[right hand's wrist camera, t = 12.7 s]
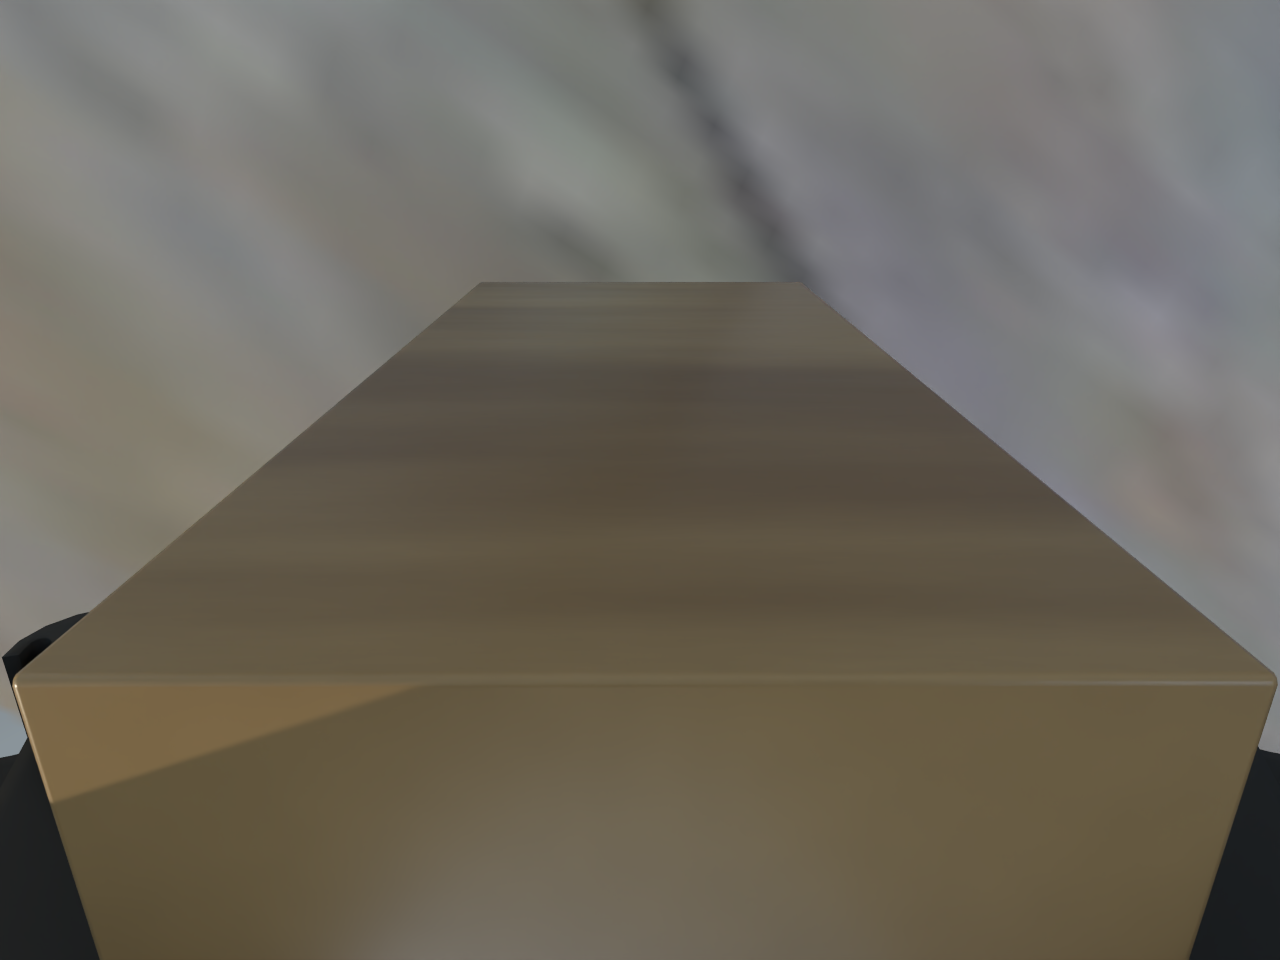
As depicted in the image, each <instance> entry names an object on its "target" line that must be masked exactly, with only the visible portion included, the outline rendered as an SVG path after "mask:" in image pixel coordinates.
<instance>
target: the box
mask: <svg viewBox="0 0 1280 960" xmlns="http://www.w3.org/2000/svg"><path fill="white" fill-rule="evenodd" d="M1277 685H1278V684H1277V678H1276V676H1275V674H1274V673H1273V672H1272V671H1271V670H1270V669H1269V668H1267V667H1266V666H1265V665H1264V664H1262V663H1261V662H1260V661H1259V660H1258V659H1256V658H1255V657H1254V656H1253V655H1252V654H1250V653H1249V652H1248V651H1247V650H1245V649H1244V648H1243V647H1242V646H1241V645H1239V644H1238V643H1237V642H1236V641H1235V640H1233V639H1232V638H1231V637H1230V636H1229V635H1227V634H1226V633H1225V632H1224V631H1222V630H1221V629H1220V628H1219V627H1218V626H1216V625H1215V624H1214V623H1213V622H1212V621H1210V620H1209V619H1208V618H1207V617H1206V616H1204V615H1203V614H1202V613H1201V612H1199V611H1198V610H1197V609H1196V608H1195V607H1193V606H1192V605H1191V604H1190V603H1189V602H1187V601H1186V600H1185V599H1184V598H1183V597H1181V596H1180V595H1179V594H1178V593H1176V592H1175V591H1174V590H1173V589H1172V588H1170V587H1169V586H1168V585H1167V584H1166V583H1164V582H1163V581H1162V580H1161V579H1160V578H1158V577H1157V576H1156V575H1155V574H1153V573H1152V572H1151V571H1150V570H1149V569H1147V568H1146V567H1145V566H1144V565H1143V564H1141V563H1140V562H1139V561H1138V560H1137V559H1135V558H1134V557H1133V556H1132V555H1130V554H1129V553H1128V552H1127V551H1126V550H1124V549H1123V548H1122V547H1121V546H1120V545H1118V544H1117V543H1116V542H1115V541H1114V540H1112V539H1111V538H1110V537H1109V536H1107V535H1106V534H1105V533H1104V532H1103V531H1101V530H1100V529H1099V528H1098V527H1097V526H1095V525H1094V524H1093V523H1092V522H1091V521H1089V520H1088V519H1087V518H1086V517H1084V516H1083V515H1082V514H1081V513H1080V512H1078V511H1077V510H1076V509H1075V508H1074V507H1072V506H1071V505H1070V504H1069V503H1068V502H1066V501H1065V500H1064V499H1063V498H1061V497H1060V496H1059V495H1058V494H1057V493H1055V492H1054V491H1053V490H1052V489H1051V488H1049V487H1048V486H1047V485H1046V484H1045V483H1043V482H1042V481H1041V480H1040V479H1038V478H1037V477H1036V476H1035V475H1034V474H1032V473H1031V472H1030V471H1029V470H1028V469H1026V468H1025V467H1024V466H1023V465H1021V464H1020V463H1019V462H1018V461H1017V460H1015V459H1014V458H1013V457H1012V456H1011V455H1009V454H1008V453H1007V452H1006V451H1005V450H1003V449H1002V448H1001V447H1000V446H998V445H997V444H996V443H995V442H994V441H992V440H991V439H990V438H989V437H988V436H986V435H985V434H984V433H983V432H982V431H980V430H979V429H978V428H977V427H975V426H974V425H973V424H972V423H971V422H969V421H968V420H967V419H966V418H965V417H963V416H962V415H961V414H960V413H959V412H957V411H956V410H955V409H954V408H952V407H951V406H950V405H949V404H948V403H946V402H945V401H944V400H943V399H942V398H940V397H939V396H938V395H937V394H936V393H934V392H933V391H932V390H931V389H929V388H928V387H927V386H926V385H925V384H923V383H922V382H921V381H920V380H919V379H917V378H916V377H915V376H914V375H913V374H911V373H910V372H909V371H908V370H906V369H905V368H904V367H903V366H902V365H900V364H899V363H898V362H897V361H896V360H894V359H893V358H892V357H891V356H890V355H888V354H887V353H886V352H885V351H883V350H882V349H881V348H880V347H879V346H877V345H876V344H875V343H874V342H873V341H871V340H870V339H869V338H868V337H867V336H865V335H864V334H863V333H862V332H860V331H859V330H858V329H857V328H856V327H854V326H853V325H852V324H851V323H850V322H848V321H847V320H846V319H845V318H844V317H842V316H841V315H840V314H839V313H837V312H836V311H835V310H834V309H833V308H831V307H830V306H829V305H828V304H827V303H825V302H824V301H823V300H822V299H821V298H819V297H818V296H817V295H816V294H814V293H813V292H812V291H811V290H810V289H808V288H807V287H806V286H805V285H804V284H802V283H800V282H482V283H479V284H478V285H477V286H476V287H475V288H473V289H472V290H471V291H470V292H469V293H468V294H466V295H465V296H464V297H463V298H462V299H460V300H459V301H458V302H457V303H456V304H454V305H453V306H452V307H451V308H450V309H449V310H447V311H446V312H445V313H444V314H443V315H441V316H440V317H439V318H438V319H437V320H436V321H434V322H433V323H432V324H431V325H430V326H428V327H427V328H426V329H425V330H424V331H422V332H421V333H420V334H419V335H418V336H417V337H415V338H414V339H413V340H412V341H411V342H409V343H408V344H407V345H406V346H405V347H403V348H402V349H401V350H400V351H399V352H398V353H396V354H395V355H394V356H393V357H392V358H390V359H389V360H388V361H387V362H386V363H385V364H383V365H382V366H381V367H380V368H379V369H377V370H376V371H375V372H374V373H373V374H371V375H370V376H369V377H368V378H367V379H366V380H364V381H363V382H362V383H361V384H360V385H358V386H357V387H356V388H355V389H354V390H352V391H351V392H350V393H349V394H348V395H347V396H345V397H344V398H343V399H342V400H341V401H339V402H338V403H337V404H336V405H335V406H334V407H332V408H331V409H330V410H329V411H328V412H326V413H325V414H324V415H323V416H322V417H320V418H319V419H318V420H317V421H316V422H315V423H313V424H312V425H311V426H310V427H309V428H307V429H306V430H305V431H304V432H303V433H301V434H300V435H299V436H298V437H297V438H296V439H294V440H293V441H292V442H291V443H290V444H288V445H287V446H286V447H285V448H284V449H283V450H281V451H280V452H279V453H278V454H277V455H275V456H274V457H273V458H272V459H271V460H269V461H268V462H267V463H266V464H265V465H264V466H262V467H261V468H260V469H259V470H258V471H256V472H255V473H254V474H253V475H252V476H250V477H249V478H248V479H247V480H246V481H245V482H243V483H242V484H241V485H240V486H239V487H237V488H236V489H235V490H234V491H233V492H231V493H230V494H229V495H228V496H227V497H226V498H224V499H223V500H222V501H221V502H220V503H218V504H217V505H216V506H215V507H214V508H213V509H211V510H210V511H209V512H208V513H207V514H205V515H204V516H203V517H202V518H201V519H199V520H198V521H197V522H196V523H195V524H194V525H192V526H191V527H190V528H189V529H188V530H186V531H185V532H184V533H183V534H182V535H180V536H179V537H178V538H177V539H176V540H175V541H173V542H172V543H171V544H170V545H169V546H167V547H166V548H165V549H164V550H163V551H162V552H160V553H159V554H158V555H157V556H156V557H154V558H153V559H152V560H151V561H150V562H148V563H147V564H146V565H145V566H144V567H143V568H141V569H140V570H139V571H138V572H137V573H135V574H134V575H133V576H132V577H131V578H129V579H128V580H127V581H126V582H125V583H124V584H122V585H121V586H120V587H119V588H118V589H116V590H115V591H114V592H113V593H112V594H111V595H109V596H108V597H107V598H106V599H105V600H103V601H102V602H101V603H100V604H99V605H97V606H96V607H95V608H94V609H93V610H92V611H90V612H89V613H88V614H87V615H86V616H84V617H83V618H82V619H81V620H80V621H78V622H77V623H76V624H75V625H74V626H73V627H71V628H70V629H69V630H68V631H67V632H65V633H64V634H63V635H62V636H61V637H60V638H58V639H57V640H56V641H55V642H54V643H52V644H51V645H50V646H49V647H48V648H46V649H45V650H44V651H43V652H42V653H41V654H39V655H38V656H37V657H36V658H35V659H33V660H32V661H31V662H30V663H29V664H27V665H26V666H25V667H24V668H23V669H22V670H20V671H19V672H18V673H17V674H16V675H15V677H14V679H13V685H12V687H13V690H14V693H15V696H16V699H17V702H18V706H19V709H20V712H21V715H22V718H23V721H24V724H25V727H26V731H27V734H28V737H29V740H30V743H31V746H32V749H33V752H34V756H35V759H36V762H37V765H38V768H39V771H40V774H41V777H42V781H43V784H44V787H45V790H46V793H47V796H48V799H49V802H50V806H51V809H52V812H53V815H54V818H55V821H56V824H57V827H58V831H59V834H60V837H61V840H62V843H63V846H64V849H65V852H66V855H67V859H68V862H69V865H70V868H71V871H72V874H73V877H74V880H75V884H76V887H77V890H78V893H79V896H80V899H81V902H82V905H83V909H84V912H85V915H86V918H87V921H88V924H89V927H90V930H91V934H92V937H93V940H94V943H95V946H96V949H97V952H98V955H99V959H100V960H1189V957H1190V954H1191V951H1192V948H1193V945H1194V942H1195V939H1196V936H1197V932H1198V929H1199V926H1200V923H1201V920H1202V917H1203V914H1204V911H1205V908H1206V905H1207V902H1208V898H1209V895H1210V892H1211V889H1212V886H1213V883H1214V880H1215V877H1216V874H1217V871H1218V868H1219V864H1220V861H1221V858H1222V855H1223V852H1224V849H1225V846H1226V843H1227V840H1228V837H1229V834H1230V830H1231V827H1232V824H1233V821H1234V818H1235V815H1236V812H1237V809H1238V806H1239V803H1240V800H1241V796H1242V793H1243V790H1244V787H1245V784H1246V781H1247V778H1248V775H1249V772H1250V769H1251V766H1252V762H1253V759H1254V756H1255V753H1256V750H1257V747H1258V744H1259V741H1260V738H1261V735H1262V732H1263V728H1264V725H1265V722H1266V719H1267V716H1268V713H1269V710H1270V707H1271V704H1272V701H1273V698H1274V694H1275V691H1276V688H1277Z"/></svg>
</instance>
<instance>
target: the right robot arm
mask: <svg viewBox="0 0 1280 960" xmlns="http://www.w3.org/2000/svg"><path fill="white" fill-rule="evenodd" d="M88 613H89V612H87V613H83V614H78V615H75V616H72V617H70V618H67V619H64V620H61V621H58V622H56V623H53V624H50V625H47V626H45V627H43V628H41V629H40V630H38V631H36V632H34V633H33V634H31V635H29V636H27V637H25V638H24V639H22V640H20V641H19V642H18V643H17V644H15V645H14V646H13V647H12V648H11V649H10V650H9V651H8V652H7V653H6V654H5V655H4V656H3V657H2V659H3V662H4V665H5V668H6V671H7V674H8V678H9V681H10V684H11V687H12V685H13V679H14V677H15V675H16V674H17V673H18V672H19V671H20V670H22V669H23V668H24V667H25V666H26V665H27V664H29V663H30V662H31V661H32V660H33V659H35V658H36V657H37V656H38V655H39V654H41V653H42V652H43V651H44V650H45V649H46V648H48V647H49V646H50V645H51V644H52V643H54V642H55V641H56V640H57V639H58V638H60V637H61V636H62V635H63V634H64V633H65V632H67V631H68V630H69V629H70V628H71V627H73V626H74V625H75V624H76V623H77V622H78V621H80V620H81V619H82V618H83V617H84V616H86V615H87V614H88ZM12 690H13V687H12ZM13 693H14V690H13ZM14 696H15V693H14ZM15 700H16V703H17V706H18V702H17V699H16V696H15ZM18 709H19V706H18ZM19 712H20V709H19ZM20 715H21V712H20ZM21 718H22V715H21ZM22 722H23V725H24V728H25V731H26V727H25V724H24V721H23V718H22ZM26 734H27V731H26ZM27 737H28V734H27ZM0 960H100V959H99V955H98V952H97V949H96V946H95V943H94V940H93V937H92V934H91V930H90V927H89V924H88V921H87V918H86V915H85V912H84V909H83V905H82V902H81V899H80V896H79V893H78V890H77V887H76V884H75V880H74V877H73V874H72V871H71V868H70V865H69V862H68V859H67V855H66V852H65V849H64V846H63V843H62V840H61V837H60V834H59V831H58V827H57V824H56V821H55V818H54V815H53V812H52V809H51V806H50V802H49V799H48V796H47V793H46V790H45V787H44V784H43V781H42V777H41V774H40V771H39V768H38V765H37V762H36V759H35V756H34V752H33V749H32V746H31V743H30V740H29V737H28V738H27V740H26V742H25V744H24V745H23V747H22V749H21V751H20V753H19V754H17V755H12V756H8V757H3V758H0ZM1189 960H1280V754H1278V753H1273V752H1268V751H1264V750H1260V749H1259V747H1257V750H1256V753H1255V756H1254V759H1253V762H1252V766H1251V769H1250V772H1249V775H1248V778H1247V781H1246V784H1245V787H1244V790H1243V793H1242V796H1241V800H1240V803H1239V806H1238V809H1237V812H1236V815H1235V818H1234V821H1233V824H1232V827H1231V830H1230V834H1229V837H1228V840H1227V843H1226V846H1225V849H1224V852H1223V855H1222V858H1221V861H1220V864H1219V868H1218V871H1217V874H1216V877H1215V880H1214V883H1213V886H1212V889H1211V892H1210V895H1209V898H1208V902H1207V905H1206V908H1205V911H1204V914H1203V917H1202V920H1201V923H1200V926H1199V929H1198V932H1197V936H1196V939H1195V942H1194V945H1193V948H1192V951H1191V954H1190V957H1189Z"/></svg>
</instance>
